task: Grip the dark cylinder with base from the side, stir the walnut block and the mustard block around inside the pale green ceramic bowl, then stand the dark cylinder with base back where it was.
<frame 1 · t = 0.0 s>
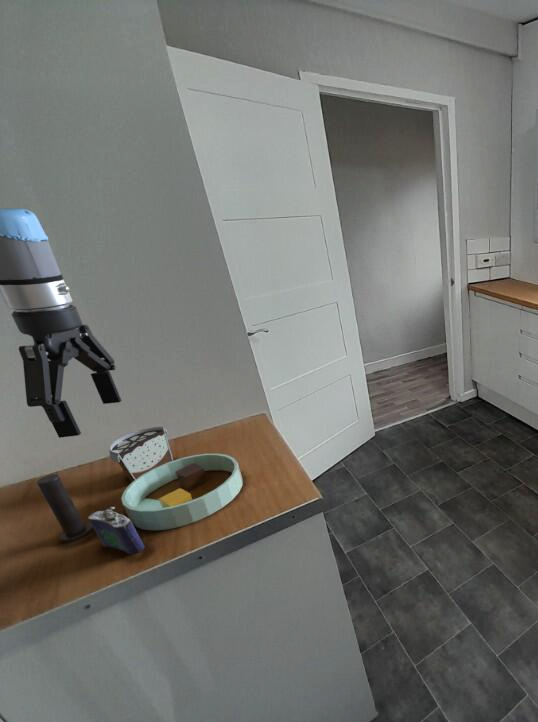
hand: (93, 417, 77), 24 cm above the counter, tool pointing down, fingers open, 13 cm apart
walnut block: (194, 483, 96), point 1 cm above the counter, touching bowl
mustard block: (180, 511, 87), point 1 cm above the counter, touching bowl
dark cylinder with base: (81, 540, 80), on the counter
food container: (146, 473, 100), on the counter
flask: (129, 554, 78), on the counter
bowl: (190, 499, 92), on the counter
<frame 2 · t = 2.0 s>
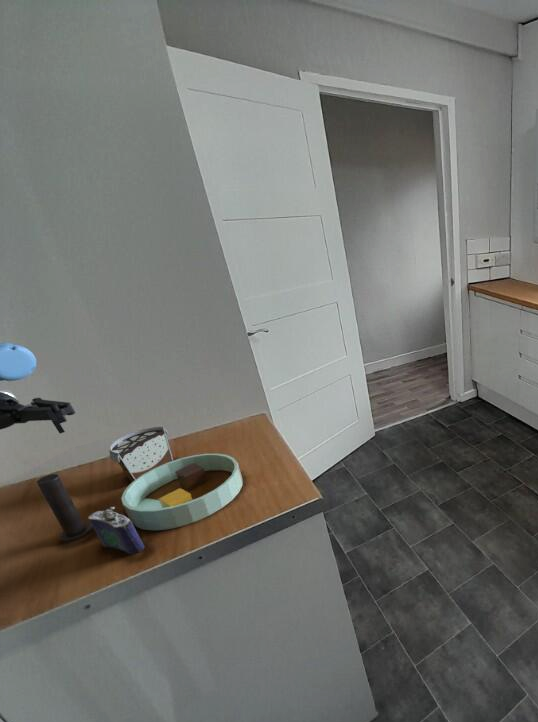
hand: (7, 443, 74), 21 cm above the counter, tool horizontal, fingers open, 13 cm apart
nothing on the counter moved.
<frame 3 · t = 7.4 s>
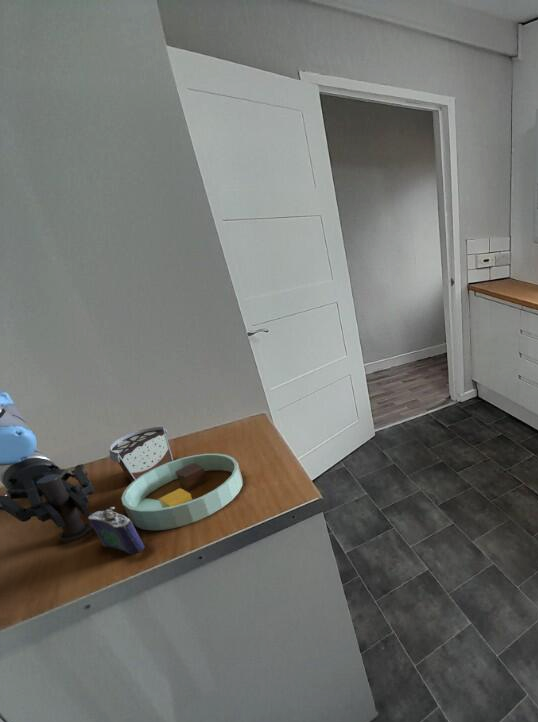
hand: (72, 515, 74), 9 cm above the counter, tool horizontal, fingers closed on dark cylinder with base, 3 cm apart
dark cylinder with base: (81, 540, 80), on the counter, touching gripper
everything else where it was.
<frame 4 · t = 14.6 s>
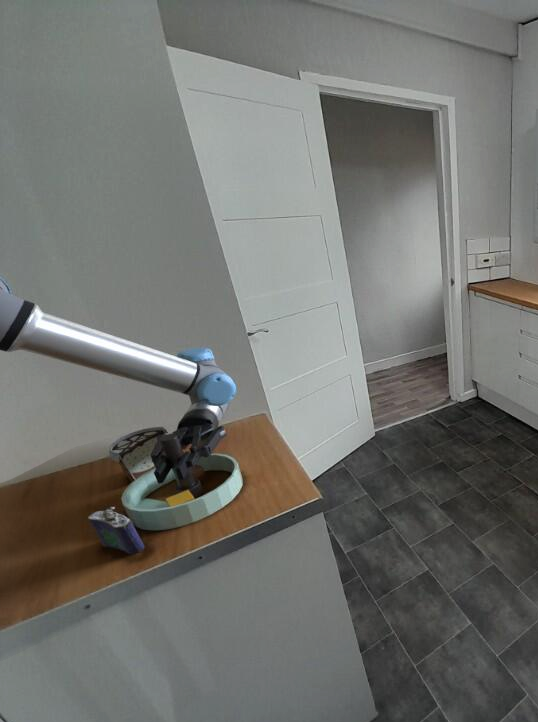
hand: (169, 475, 82), 11 cm above the counter, tool horizontal, fingers closed on dark cylinder with base, 3 cm apart
mustard block: (185, 513, 87), point 1 cm above the counter, touching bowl
dark cylinder with base: (190, 493, 90), point 2 cm above the counter, touching gripper
everything else where it was.
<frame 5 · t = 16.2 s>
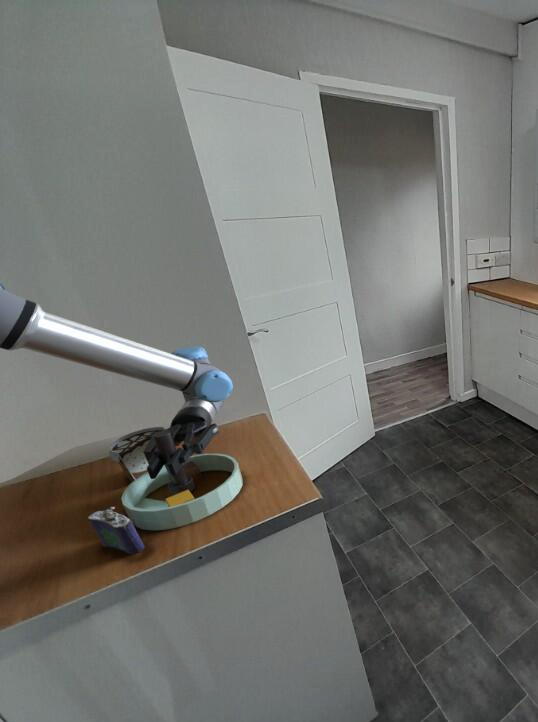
hand: (161, 471, 84), 11 cm above the counter, tool horizontal, fingers closed on dark cylinder with base, 3 cm apart
walnut block: (190, 481, 96), point 1 cm above the counter, touching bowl
dark cylinder with base: (183, 490, 92), point 2 cm above the counter, touching gripper
everything else where it was.
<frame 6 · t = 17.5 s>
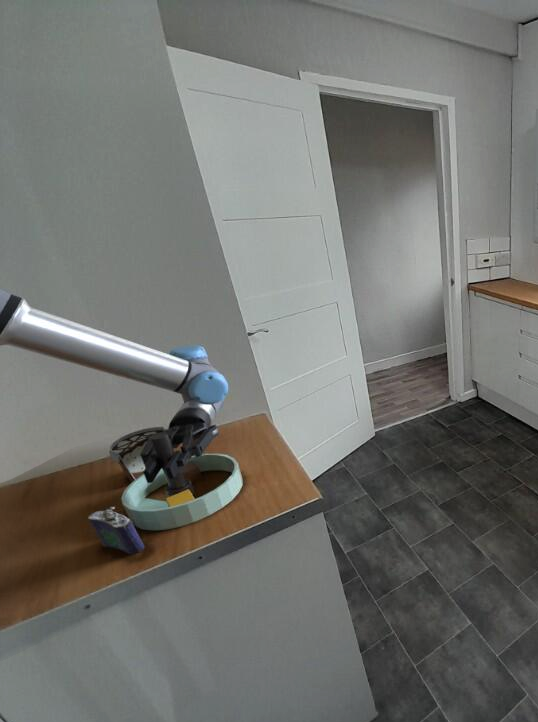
hand: (158, 475, 80), 12 cm above the counter, tool horizontal, fingers closed on dark cylinder with base, 3 cm apart
mustard block: (185, 512, 87), point 1 cm above the counter, tilted 8°, touching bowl
dark cylinder with base: (181, 494, 89), point 3 cm above the counter, touching gripper
everything else where it was.
when the fingers open (9 cm above the counter, at t = 24.3 s): dark cylinder with base stays where it is, on the counter.
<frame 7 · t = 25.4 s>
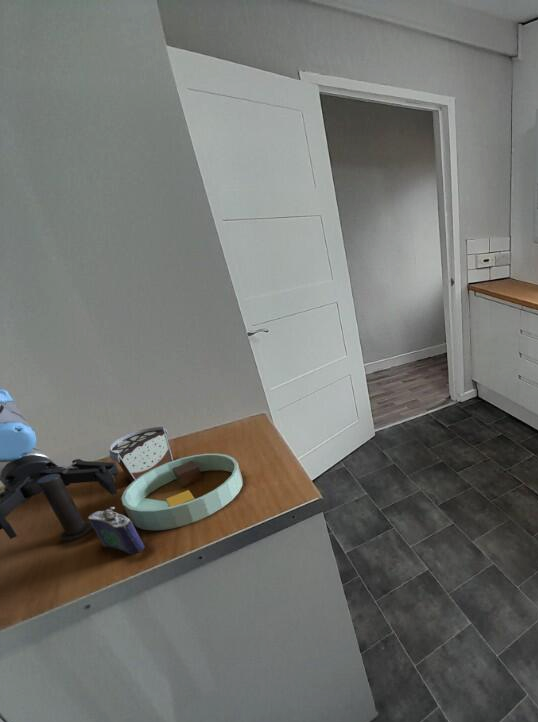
hand: (65, 508, 75), 10 cm above the counter, tool horizontal, fingers open, 13 cm apart
mustard block: (185, 513, 87), point 1 cm above the counter, touching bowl
dark cylinder with base: (81, 540, 80), on the counter
everything else where it was.
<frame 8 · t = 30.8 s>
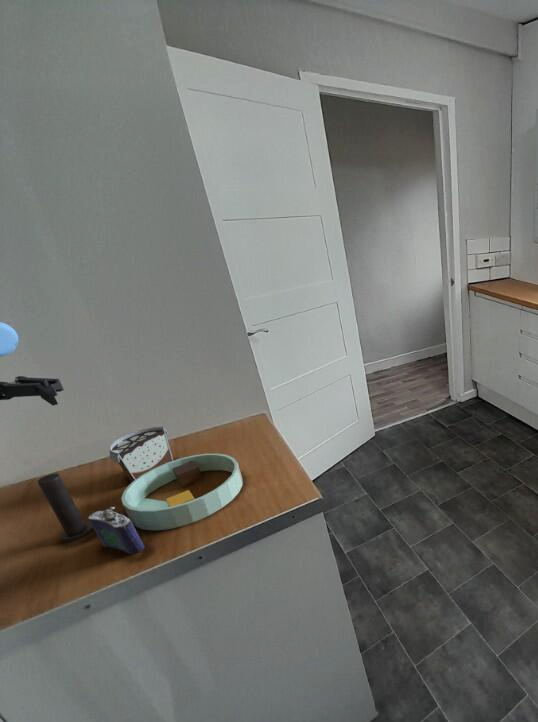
hand: (0, 412, 74), 26 cm above the counter, tool horizontal, fingers open, 13 cm apart
nothing on the counter moved.
at the end: mustard block moved 1.8 cm from its start; mustard block inside the target area in the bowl (6.3 cm from its centre), point 0.8 cm above the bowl's base; walnut block inside the target area in the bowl (6.4 cm from its centre), point 0.8 cm above the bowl's base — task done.
